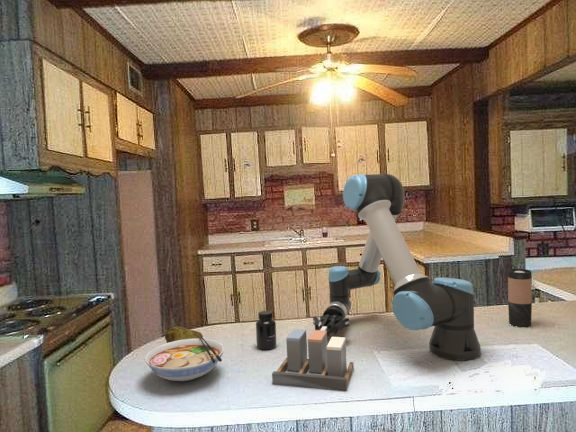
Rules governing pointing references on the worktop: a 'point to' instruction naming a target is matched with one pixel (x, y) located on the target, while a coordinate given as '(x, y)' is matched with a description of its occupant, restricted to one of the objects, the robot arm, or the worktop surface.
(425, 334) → the worktop surface
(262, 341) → the supplement bottle
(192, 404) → the worktop surface
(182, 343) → the ramen bowl
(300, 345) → the slate key
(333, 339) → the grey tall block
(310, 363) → the terracotta key
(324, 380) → the key bed
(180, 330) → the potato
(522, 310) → the travel mug
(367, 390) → the worktop surface
